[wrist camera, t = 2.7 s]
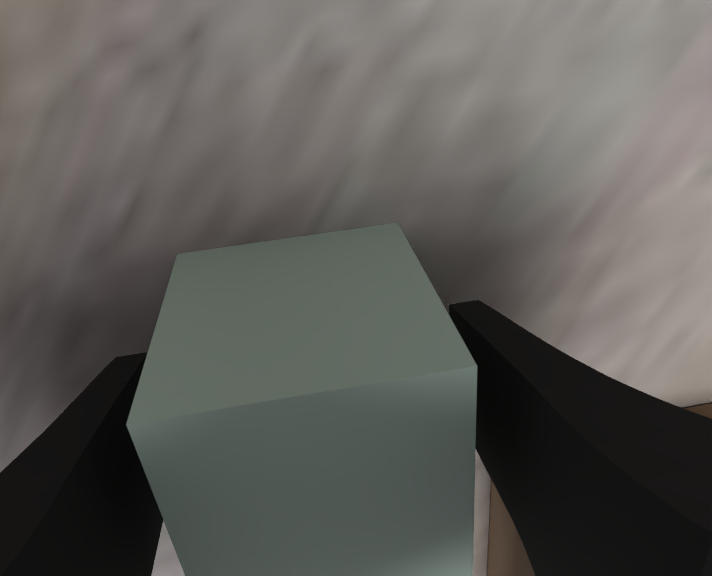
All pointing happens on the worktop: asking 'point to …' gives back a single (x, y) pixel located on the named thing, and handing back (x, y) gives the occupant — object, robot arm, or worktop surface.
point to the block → (310, 412)
